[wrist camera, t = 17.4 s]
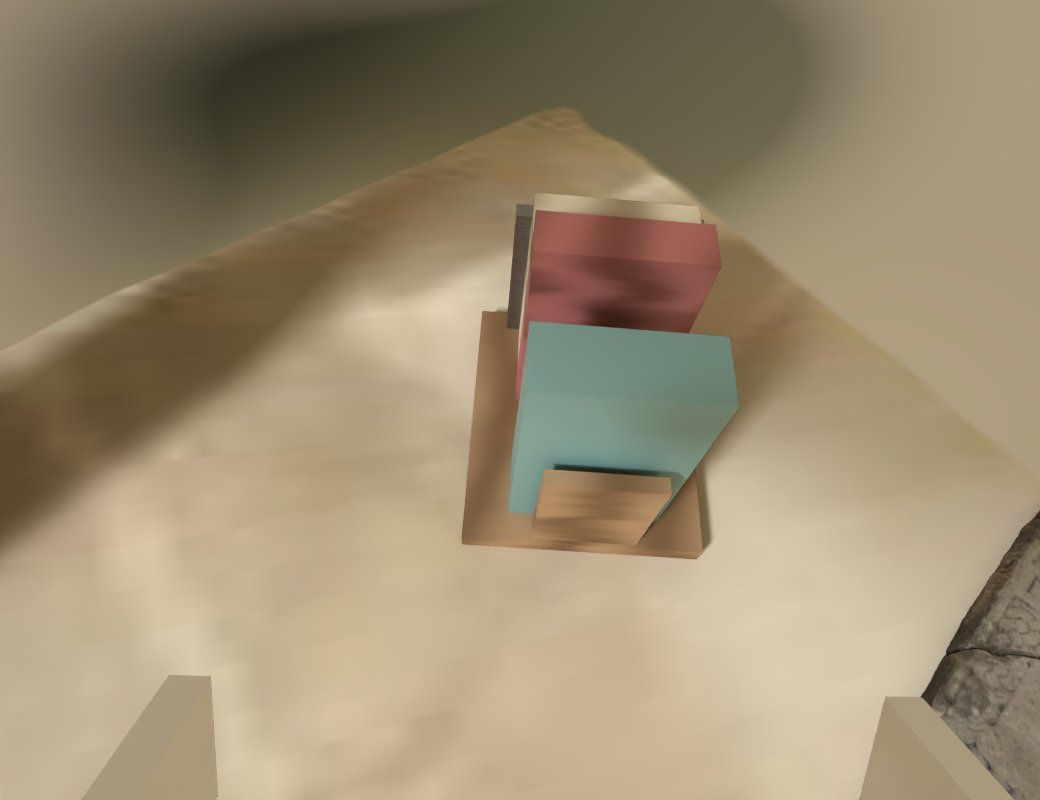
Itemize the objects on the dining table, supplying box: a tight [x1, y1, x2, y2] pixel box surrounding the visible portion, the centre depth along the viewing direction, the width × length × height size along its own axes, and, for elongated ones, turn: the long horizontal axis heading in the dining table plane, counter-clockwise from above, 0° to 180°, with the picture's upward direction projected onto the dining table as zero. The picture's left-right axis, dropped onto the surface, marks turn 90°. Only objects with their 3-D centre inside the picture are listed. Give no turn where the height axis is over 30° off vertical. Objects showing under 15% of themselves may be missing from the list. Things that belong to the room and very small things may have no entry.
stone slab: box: [921, 511, 1040, 800], centre depth 42 cm, size 10×3×30 cm
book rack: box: [462, 193, 721, 559], centre depth 42 cm, size 16×18×18 cm
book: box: [508, 321, 740, 522], centre depth 39 cm, size 10×4×16 cm, turn 87°
